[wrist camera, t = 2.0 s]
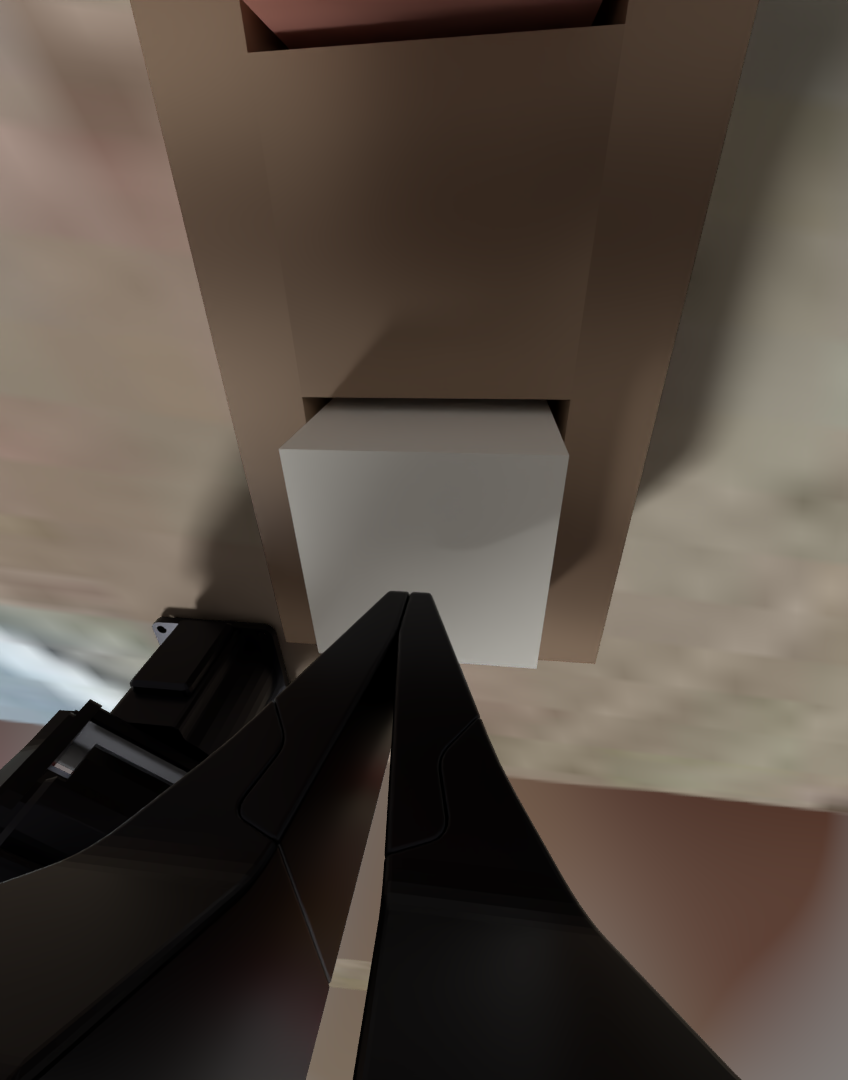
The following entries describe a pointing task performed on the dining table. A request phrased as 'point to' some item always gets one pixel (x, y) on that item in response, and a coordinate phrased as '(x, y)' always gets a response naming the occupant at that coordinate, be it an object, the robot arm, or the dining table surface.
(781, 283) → the dining table surface
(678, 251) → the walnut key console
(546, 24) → the brick-red key
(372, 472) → the ivory key
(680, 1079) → the robot arm
